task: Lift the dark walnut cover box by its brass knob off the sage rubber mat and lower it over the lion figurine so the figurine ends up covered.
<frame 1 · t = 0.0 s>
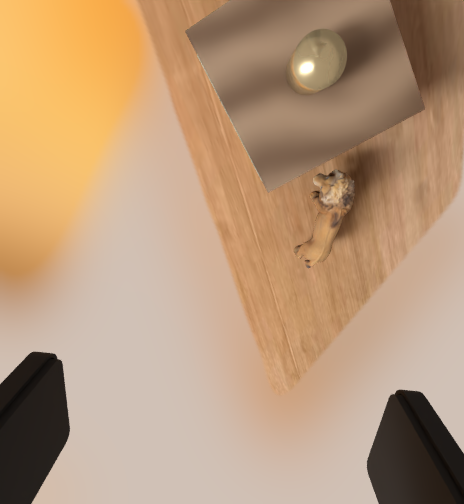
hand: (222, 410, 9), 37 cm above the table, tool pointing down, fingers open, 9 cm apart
walnut cover: (292, 85, 39), resting on sage mat
lion figurine: (314, 214, 45), on the table
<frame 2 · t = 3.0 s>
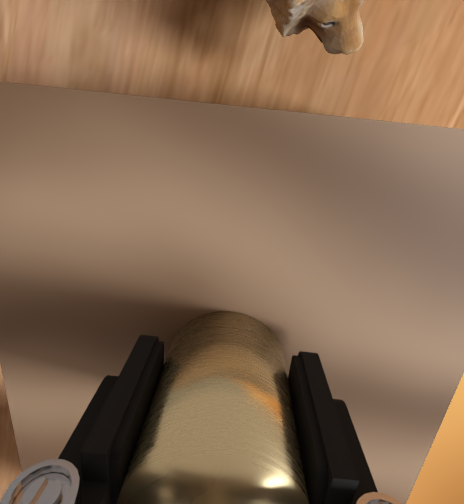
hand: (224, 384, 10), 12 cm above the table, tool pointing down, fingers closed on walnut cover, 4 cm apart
walnut cover: (235, 252, 21), resting on sage mat, touching gripper
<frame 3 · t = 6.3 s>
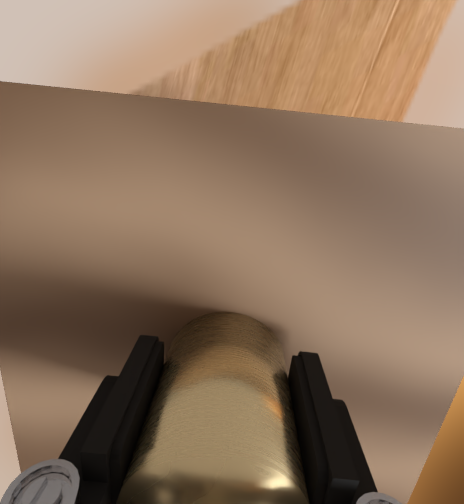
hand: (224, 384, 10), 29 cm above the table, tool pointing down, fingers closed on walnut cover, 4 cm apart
walnut cover: (235, 252, 21), point 18 cm above the table, touching gripper
when the fingers open (13 cm above the table, at t = 9.6 s): walnut cover stays where it is, resting on lion figurine, sage mat.
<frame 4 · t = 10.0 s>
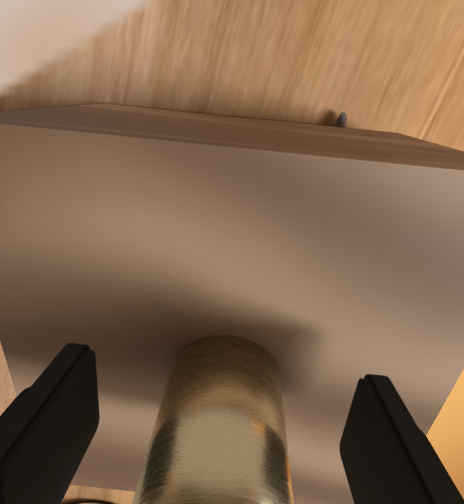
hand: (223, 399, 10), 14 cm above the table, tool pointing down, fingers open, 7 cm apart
walnut cover: (235, 250, 21), point 1 cm above the table, tilted 6°, touching lion figurine, sage mat
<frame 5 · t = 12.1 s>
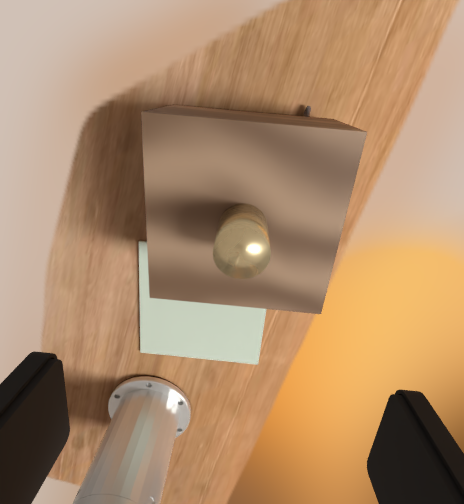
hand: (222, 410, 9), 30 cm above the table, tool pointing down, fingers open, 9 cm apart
walnut cover: (244, 190, 36), point 1 cm above the table, tilted 6°, touching lion figurine, sage mat
sage mat: (202, 305, 43), on the table
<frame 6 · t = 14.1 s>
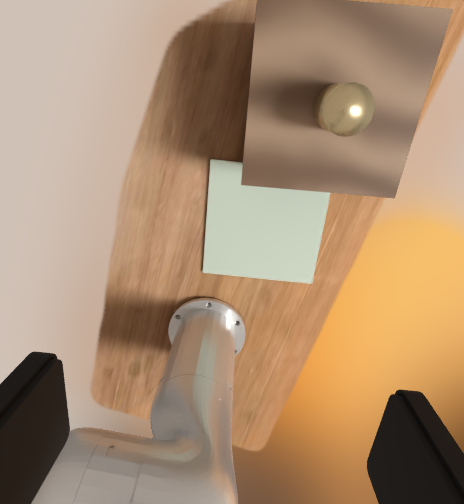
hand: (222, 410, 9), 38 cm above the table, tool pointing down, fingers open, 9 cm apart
walnut cover: (313, 103, 40), point 1 cm above the table, tilted 6°, touching lion figurine, sage mat
sage mat: (264, 224, 47), on the table
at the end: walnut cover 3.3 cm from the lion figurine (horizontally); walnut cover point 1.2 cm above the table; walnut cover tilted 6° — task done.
